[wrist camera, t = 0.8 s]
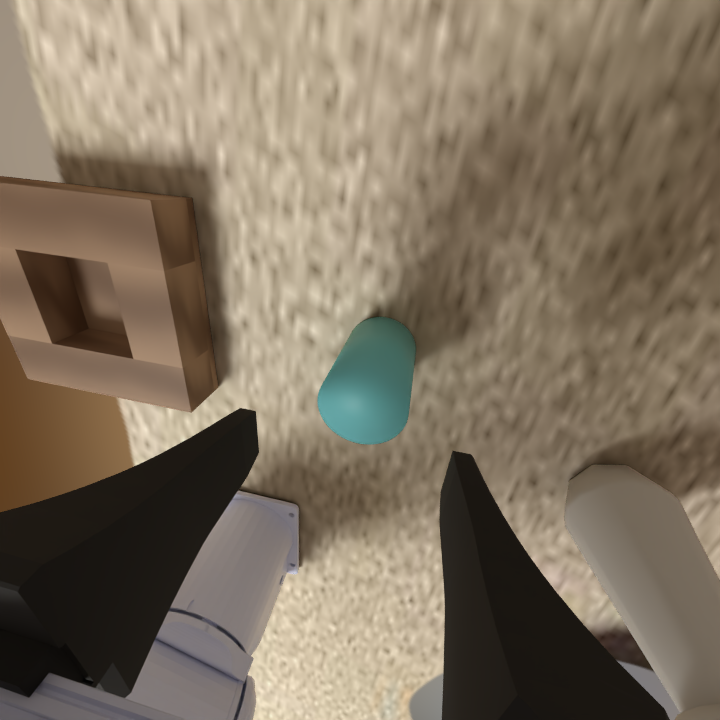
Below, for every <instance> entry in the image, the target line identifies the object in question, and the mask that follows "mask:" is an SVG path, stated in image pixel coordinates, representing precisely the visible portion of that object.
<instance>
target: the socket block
mask: <svg viewBox="0 0 720 720" xmlns="http://www.w3.org/2000/svg"><path fill="white" fill-rule="evenodd" d="M0 318H1V321H2V323H3V325H4V327H5V329H6V332H7V334H8V336H9V338H10V340H11V343H12V345H13V347H14V349H15V352H16V353H17V356H18V358H19V360H20V362H21V364H22V367H23V369H24V371H25V373H26V376H27V378H28V379H31V380H36V381H40V382H46V383H50V384H55V385H60V386H65V387H70V388H75V389H80V390H84V391H89V392H94V393H99V394H104V395H108V396H113V397H118V398H123V399H128V400H133V401H137V402H142V403H147V404H152V405H157V406H162V407H167V408H171V409H176V410H181V411H186V412H192V411H194V410H195V409H196V408H197V407H198V406H199V405H200V404H201V403H202V402H203V401H204V400H205V399H206V398H207V397H208V396H210V395H211V394H212V393H213V392H214V391H215V390H216V389H217V388H218V381H217V374H216V367H215V360H214V352H213V345H212V338H211V331H210V323H209V316H208V309H207V302H206V295H205V287H204V280H203V273H202V266H201V258H200V251H199V244H198V237H197V230H196V222H195V215H194V208H193V201H192V198H188V197H179V196H171V195H162V194H153V193H144V192H136V191H127V190H118V189H109V188H101V187H92V186H83V185H74V184H65V183H56V182H47V181H39V180H30V179H21V178H13V177H4V176H0Z"/></svg>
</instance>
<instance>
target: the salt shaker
mask: <svg viewBox="0 0 720 720" xmlns="http://www.w3.org/2000/svg"><path fill="white" fill-rule="evenodd" d="M564 521H565V526H566V528H567V530H568V532H569V533H570V535H571V537H572V539H573V540H574V542H575V544H576V545H577V547H578V549H579V550H580V552H581V553H582V555H583V557H584V558H585V560H586V561H587V563H588V565H589V566H590V568H591V570H592V571H593V573H594V574H595V576H596V578H597V579H598V581H599V582H600V584H601V586H602V587H603V589H604V590H605V592H606V594H607V595H608V597H609V599H610V600H611V602H612V603H613V605H614V607H615V608H616V610H617V611H618V613H619V615H620V616H621V618H622V620H623V621H624V623H625V624H626V626H627V628H628V629H629V631H630V632H631V634H632V636H633V637H634V639H635V640H636V642H637V644H638V645H639V647H640V649H641V650H642V652H643V653H644V655H645V657H646V658H647V660H648V661H649V663H650V665H651V666H652V668H653V670H654V671H655V673H656V674H657V676H658V678H659V679H660V681H661V682H662V684H663V686H664V687H665V689H666V690H667V692H668V694H669V695H670V697H671V699H672V700H673V702H674V703H675V705H676V707H677V708H678V710H679V711H680V714H678V715H677V717H676V718H675V720H720V580H719V578H718V576H717V574H716V572H715V570H714V568H713V566H712V564H711V562H710V560H709V558H708V556H707V554H706V552H705V551H704V549H703V547H702V545H701V543H700V541H699V539H698V537H697V535H696V533H695V531H694V529H693V527H692V525H691V523H690V521H689V519H688V516H687V514H686V512H685V510H684V508H683V506H682V504H681V502H680V500H679V499H678V498H676V497H675V496H674V495H673V494H672V493H671V492H669V491H668V490H666V489H665V488H663V487H661V486H660V485H658V484H656V483H655V482H653V481H652V480H650V479H648V478H647V477H645V476H643V475H642V474H640V473H639V472H637V471H635V470H634V469H632V468H631V467H629V466H627V465H591V466H589V467H588V468H587V469H585V470H584V471H582V472H581V473H579V474H578V475H577V476H575V477H574V478H572V479H571V480H570V481H569V484H568V491H567V498H566V505H565V514H564Z"/></svg>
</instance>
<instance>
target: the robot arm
mask: <svg viewBox="0 0 720 720" xmlns="http://www.w3.org/2000/svg"><path fill="white" fill-rule="evenodd" d="M258 453H259V447H258V434H257V422H256V411H252V410H247V409H242V408H240V409H238V410H236V411H234V412H233V413H231V414H229V415H228V416H226V417H224V418H223V419H221V420H219V421H218V422H216V423H214V424H213V425H211V426H209V427H208V428H206V429H204V430H203V431H201V432H199V433H198V434H196V435H194V436H192V437H191V438H189V439H187V440H185V441H184V442H182V443H180V444H178V445H176V446H174V447H172V448H171V449H169V450H167V451H165V452H163V453H161V454H159V455H157V456H155V457H153V458H151V459H149V460H147V461H145V462H143V463H141V464H139V465H136V466H134V467H132V468H130V469H128V470H125V471H123V472H121V473H118V474H116V475H113V476H111V477H108V478H105V479H103V480H100V481H98V482H95V483H93V484H90V485H87V486H85V487H82V488H79V489H77V490H73V491H71V492H68V493H65V494H62V495H59V496H56V497H52V498H49V499H46V500H43V501H40V502H36V503H33V504H30V505H26V506H22V507H19V508H15V509H11V510H8V511H4V512H0V720H253V716H254V711H255V705H256V693H255V683H254V679H253V678H252V677H251V676H248V675H247V674H248V672H249V669H250V667H251V664H252V661H253V657H251V655H252V654H253V652H254V651H255V650H256V648H257V646H258V645H259V643H260V641H261V639H262V636H263V634H264V631H265V628H266V626H267V623H268V620H269V618H270V615H271V613H272V610H273V607H274V605H275V602H276V599H277V597H278V594H279V592H280V589H281V586H282V584H283V581H284V579H285V576H286V573H291V574H297V573H298V570H299V508H298V506H297V505H296V504H293V503H289V502H285V501H281V500H277V499H272V498H268V497H264V496H260V495H255V494H251V493H247V492H242V491H238V490H239V488H240V487H241V485H242V484H243V482H244V481H245V479H246V478H247V476H248V474H249V472H250V470H251V468H252V466H253V464H254V462H255V460H256V458H257V455H258ZM440 536H441V550H442V564H443V578H444V593H445V638H444V679H443V705H442V720H670V719H669V717H668V715H667V713H666V711H665V709H664V708H663V707H662V706H661V705H660V704H659V703H658V702H657V701H656V700H655V699H654V698H653V697H652V696H651V695H650V694H649V693H648V692H647V691H646V690H645V689H644V688H643V687H642V686H641V685H640V684H639V683H638V682H637V681H636V680H635V679H634V678H633V677H632V676H631V675H630V674H629V673H628V672H627V671H626V670H625V669H624V668H623V667H622V666H621V665H620V664H619V663H618V662H617V661H616V660H615V659H614V658H613V656H612V655H611V654H610V653H609V652H608V651H607V650H606V649H605V648H604V647H603V646H602V645H601V643H600V642H599V641H598V640H597V639H596V638H595V637H594V636H593V635H592V634H591V632H590V631H589V630H588V629H587V628H586V627H585V626H584V625H583V623H582V622H581V621H580V620H579V619H578V618H577V616H576V615H575V614H574V613H573V612H572V610H571V609H570V608H569V607H568V606H567V604H566V603H565V602H564V601H563V600H562V598H561V597H560V596H559V595H558V594H557V592H556V591H555V590H554V589H553V587H552V586H551V585H550V583H549V582H548V581H547V580H546V578H545V577H544V576H543V574H542V573H541V572H540V570H539V569H538V567H537V566H536V565H535V563H534V562H533V561H532V559H531V558H530V556H529V555H528V553H527V552H526V551H525V549H524V548H523V546H522V545H521V543H520V542H519V540H518V539H517V537H516V535H515V534H514V532H513V531H512V529H511V527H510V526H509V524H508V523H507V521H506V519H505V518H504V516H503V514H502V512H501V511H500V509H499V507H498V505H497V503H496V502H495V500H494V498H493V496H492V494H491V493H490V491H489V489H488V487H487V485H486V483H485V481H484V479H483V477H482V475H481V473H480V471H479V469H478V467H477V464H476V462H475V460H474V458H473V456H472V455H471V454H466V453H461V452H456V451H453V452H452V455H451V459H450V462H449V466H448V469H447V472H446V476H445V479H444V483H443V486H442V490H441V498H440Z"/></svg>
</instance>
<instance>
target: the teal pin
mask: <svg viewBox="0 0 720 720" xmlns="http://www.w3.org/2000/svg"><path fill="white" fill-rule="evenodd" d="M415 354H416V345H415V341H414V338H413V336H412V334H411V333H410V331H409V330H408V329H407V328H406V327H405V326H404V325H403V324H401V323H400V322H398V321H396V320H394V319H391V318H387V317H373V318H369V319H367V320H364V321H363V322H361V323H360V324H358V325H357V326H356V327H355V328H354V330H353V331H352V333H351V335H350V336H349V338H348V340H347V342H346V343H345V345H344V347H343V349H342V350H341V352H340V354H339V356H338V358H337V359H336V361H335V363H334V365H333V366H332V368H331V370H330V372H329V373H328V375H327V377H326V379H325V381H324V382H323V384H322V386H321V388H320V390H319V394H318V408H319V412H320V414H321V416H322V418H323V420H324V422H325V423H326V424H327V426H328V427H329V428H330V429H331V430H332V431H333V432H335V433H336V434H337V435H339V436H341V437H342V438H344V439H346V440H349V441H352V442H355V443H359V444H379V443H383V442H386V441H389V440H391V439H392V438H394V437H396V436H397V435H398V434H399V433H400V432H401V431H402V430H403V428H404V427H405V425H406V423H407V420H408V415H409V406H410V398H411V389H412V380H413V372H414V363H415Z"/></svg>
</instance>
